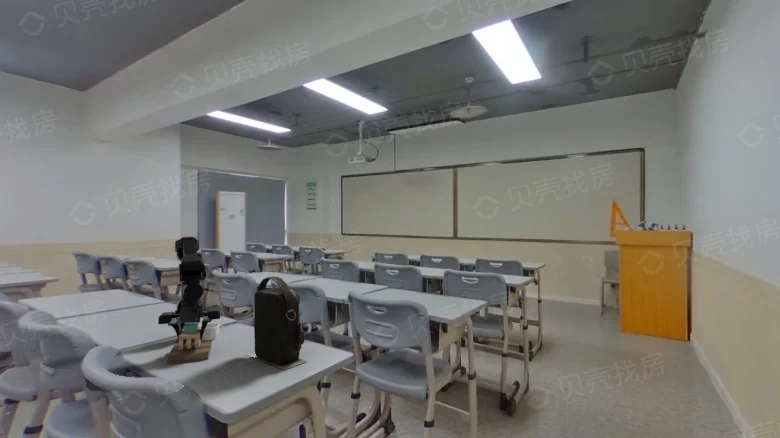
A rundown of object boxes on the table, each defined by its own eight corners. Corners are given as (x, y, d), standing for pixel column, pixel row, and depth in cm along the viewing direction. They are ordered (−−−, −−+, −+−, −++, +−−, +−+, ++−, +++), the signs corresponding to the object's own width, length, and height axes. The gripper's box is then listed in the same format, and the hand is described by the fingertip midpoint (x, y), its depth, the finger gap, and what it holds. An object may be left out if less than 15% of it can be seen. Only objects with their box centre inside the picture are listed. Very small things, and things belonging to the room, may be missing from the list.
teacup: (203, 343, 138) (204, 329, 138) (193, 340, 142) (193, 326, 142) (228, 336, 146) (228, 323, 147) (217, 333, 151) (217, 321, 151)
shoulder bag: (244, 355, 125) (244, 275, 126) (267, 348, 133) (267, 272, 133) (284, 370, 112) (284, 280, 112) (307, 362, 119) (307, 277, 120)
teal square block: (185, 330, 127) (185, 323, 127) (198, 329, 128) (198, 322, 128) (183, 333, 123) (183, 326, 123) (196, 332, 124) (196, 324, 125)
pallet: (183, 340, 129) (183, 328, 129) (201, 338, 131) (202, 326, 131) (178, 349, 120) (178, 336, 120) (198, 347, 122) (199, 334, 122)
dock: (174, 351, 129) (174, 344, 129) (211, 347, 134) (211, 340, 134) (167, 364, 117) (167, 356, 117) (208, 359, 122) (208, 351, 122)
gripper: (154, 302, 115) (154, 351, 115) (219, 298, 122) (218, 344, 122) (162, 296, 125) (161, 341, 125) (221, 292, 132) (220, 334, 132)
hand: (190, 340), depth 126 cm, fingers closed on pallet, 6 cm apart
